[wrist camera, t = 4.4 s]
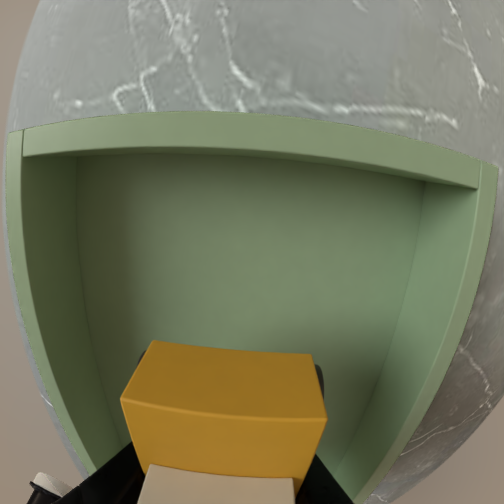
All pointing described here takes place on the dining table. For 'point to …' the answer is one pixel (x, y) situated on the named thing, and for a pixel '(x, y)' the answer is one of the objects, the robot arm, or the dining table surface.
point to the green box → (247, 263)
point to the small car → (223, 423)
